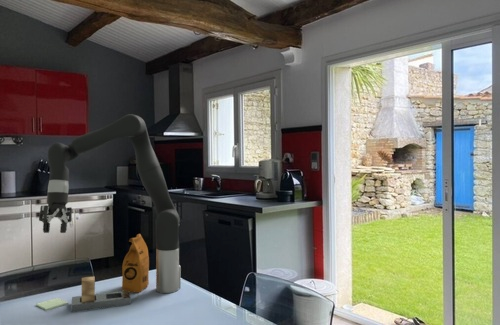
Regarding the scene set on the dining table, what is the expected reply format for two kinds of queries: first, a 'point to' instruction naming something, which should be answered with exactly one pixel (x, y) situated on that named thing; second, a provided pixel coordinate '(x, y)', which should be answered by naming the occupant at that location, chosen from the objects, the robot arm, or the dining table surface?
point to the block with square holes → (101, 301)
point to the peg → (88, 289)
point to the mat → (52, 304)
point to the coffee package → (136, 266)
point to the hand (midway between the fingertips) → (54, 232)
